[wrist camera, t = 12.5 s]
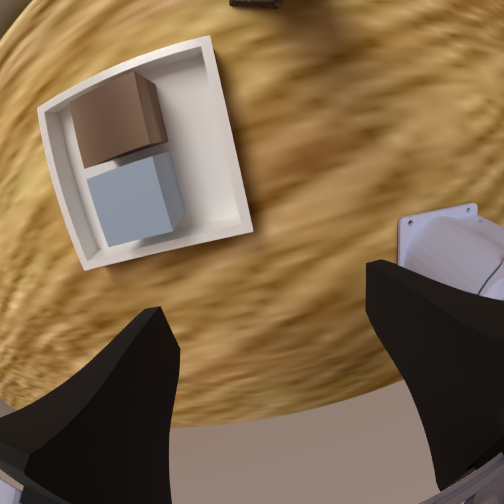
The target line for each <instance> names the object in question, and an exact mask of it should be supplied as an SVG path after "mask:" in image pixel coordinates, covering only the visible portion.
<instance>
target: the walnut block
mask: <svg viewBox="0 0 504 504" xmlns="http://www.w3.org/2000/svg"><path fill="white" fill-rule="evenodd" d="M69 103H70V109H71V114H72V120H73V124H74V129H75V134H76V138H77V142H78V147H79V151H80V155H81V159H82V162H83V166H84V169H86V168H89V167H92V166H96V165H99V164H103V163H106V162H110V161H113V160H116V159H119V158H121V157H124V156H127V155H129V154H132V153H135V152H138V151H141V150H143V149H146V148H149V147H152V146H155V145H158V144H162V143H165V142H168V137H167V133H166V129H165V125H164V120H163V116H162V112H161V108H160V103H159V99H158V94H157V90H156V85H155V83H153V82H151V81H150V80H148V79H146V78H144V77H143V76H141V75H139V74H138V73H136V72H131V73H129V74H126V75H124V76H121V77H119V78H117V79H114V80H112V81H110V82H108V83H106V84H103V85H101V86H99V87H97V88H95V89H93V90H91V91H89V92H87V93H85V94H83V95H81V96H79V97H77V98H76V99H74V100H72V101H70V102H69Z"/></svg>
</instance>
